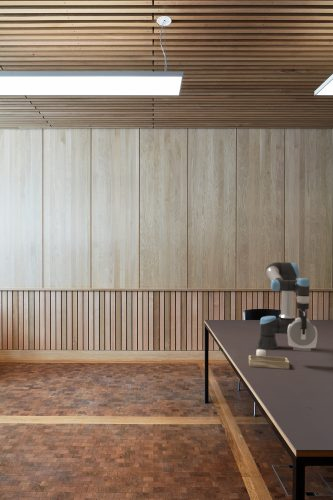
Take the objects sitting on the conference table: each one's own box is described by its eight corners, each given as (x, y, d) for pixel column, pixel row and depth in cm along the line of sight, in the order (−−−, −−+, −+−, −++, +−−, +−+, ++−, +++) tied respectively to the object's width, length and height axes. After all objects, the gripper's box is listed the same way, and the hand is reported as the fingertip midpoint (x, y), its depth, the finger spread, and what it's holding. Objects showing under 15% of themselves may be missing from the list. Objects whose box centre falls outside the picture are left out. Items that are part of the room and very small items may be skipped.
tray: (248, 361, 280) (248, 355, 280) (286, 363, 276) (286, 357, 276) (249, 366, 267) (249, 360, 267) (289, 368, 263) (289, 362, 263)
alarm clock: (316, 349, 275) (316, 317, 275) (317, 352, 267) (317, 319, 266) (287, 346, 280) (287, 315, 279) (287, 349, 271) (287, 318, 271)
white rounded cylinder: (255, 359, 285) (256, 349, 286) (265, 360, 285) (265, 349, 285) (256, 361, 280) (256, 351, 280) (265, 362, 279) (266, 351, 279)
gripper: (294, 300, 284) (293, 334, 284) (299, 304, 263) (298, 341, 263) (306, 300, 283) (305, 334, 283) (312, 305, 261) (311, 341, 262)
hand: (301, 337), depth 273 cm, fingers closed on alarm clock, 9 cm apart
